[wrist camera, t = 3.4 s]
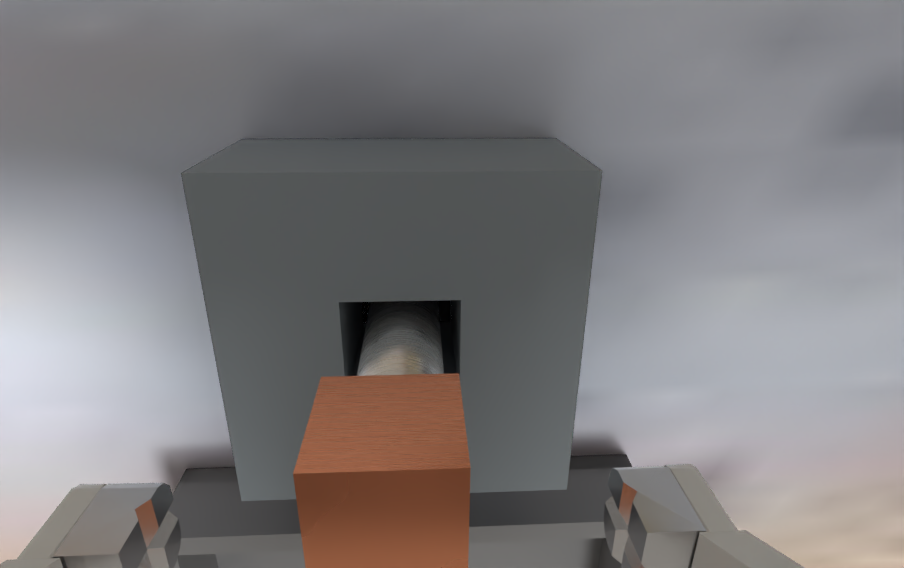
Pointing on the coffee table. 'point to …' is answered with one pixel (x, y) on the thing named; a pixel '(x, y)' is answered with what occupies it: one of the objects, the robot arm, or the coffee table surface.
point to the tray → (490, 523)
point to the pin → (387, 453)
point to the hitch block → (398, 286)
